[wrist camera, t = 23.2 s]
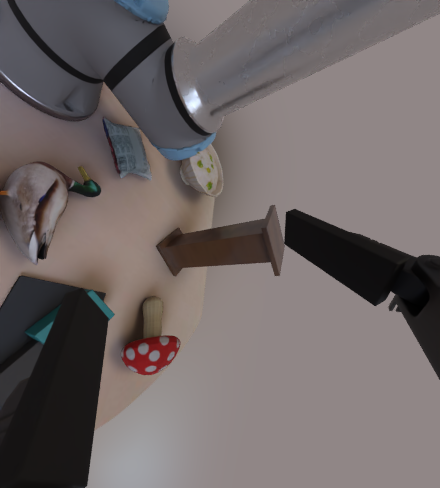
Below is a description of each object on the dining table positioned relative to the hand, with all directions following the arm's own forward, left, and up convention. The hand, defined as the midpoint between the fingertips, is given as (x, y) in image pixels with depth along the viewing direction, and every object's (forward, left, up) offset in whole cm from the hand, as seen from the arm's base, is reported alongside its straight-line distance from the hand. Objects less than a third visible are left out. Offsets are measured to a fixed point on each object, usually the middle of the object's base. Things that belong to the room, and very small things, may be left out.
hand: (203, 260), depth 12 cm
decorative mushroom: (+7, +21, -30) cm, 38 cm away
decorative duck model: (-9, -3, -30) cm, 32 cm away
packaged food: (-29, +3, -30) cm, 42 cm away
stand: (-14, +25, -30) cm, 42 cm away
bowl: (-41, +22, -30) cm, 56 cm away
